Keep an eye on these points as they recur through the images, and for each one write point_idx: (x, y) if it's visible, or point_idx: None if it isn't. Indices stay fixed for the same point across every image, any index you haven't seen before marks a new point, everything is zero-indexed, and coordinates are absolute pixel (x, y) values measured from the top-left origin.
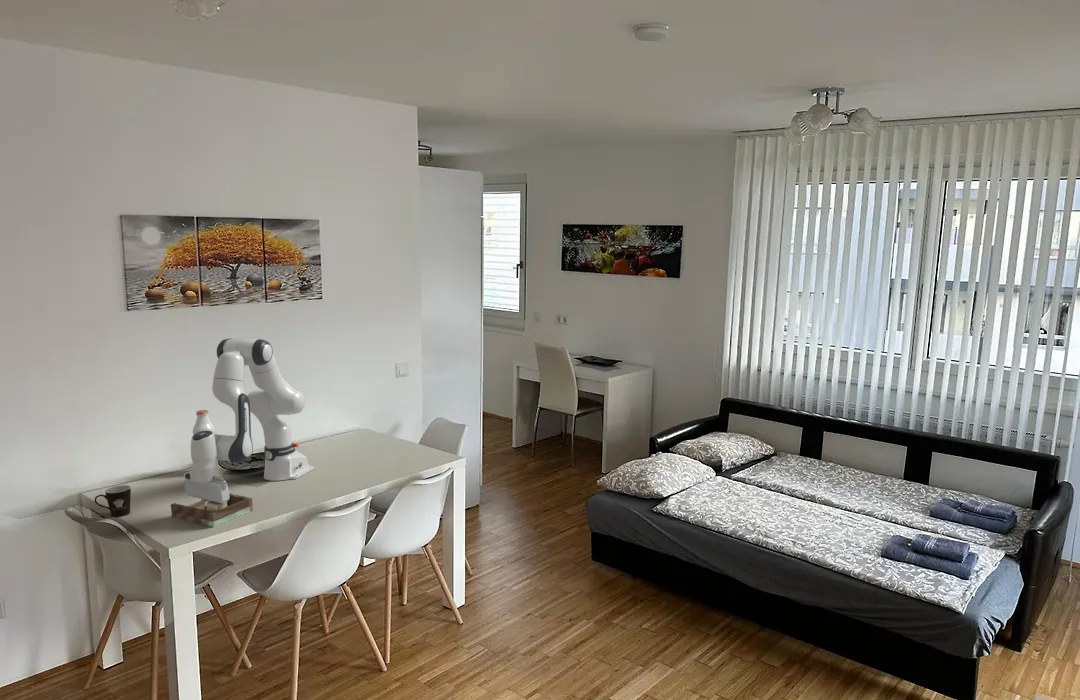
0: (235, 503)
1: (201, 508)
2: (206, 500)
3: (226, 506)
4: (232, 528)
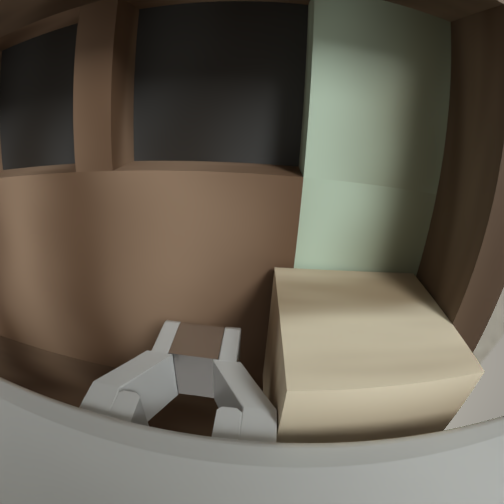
0: (500, 203)
1: (46, 251)
2: (144, 416)
3: (451, 333)
4: (493, 343)
